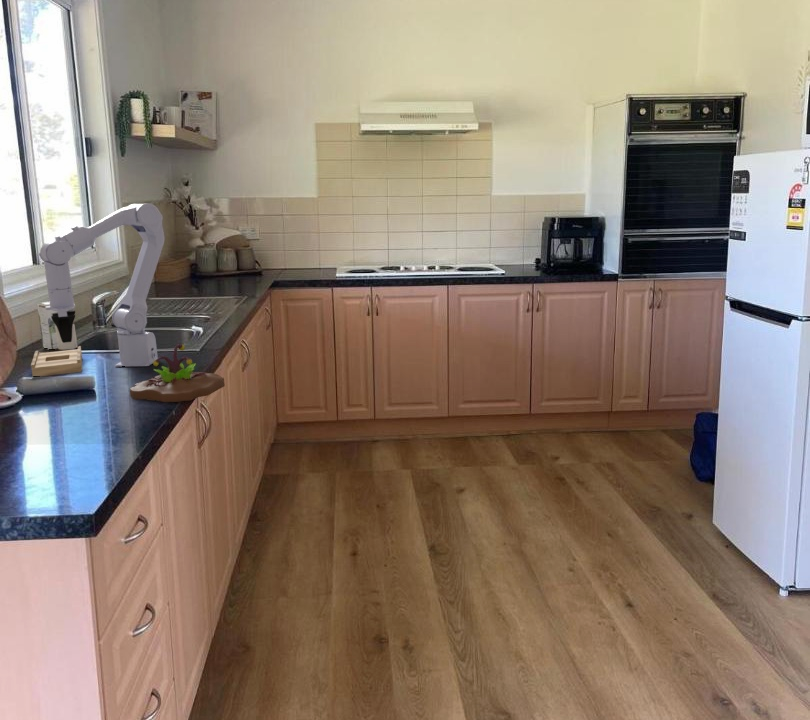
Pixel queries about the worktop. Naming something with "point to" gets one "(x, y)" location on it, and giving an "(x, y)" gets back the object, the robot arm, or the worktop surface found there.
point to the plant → (177, 382)
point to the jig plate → (57, 362)
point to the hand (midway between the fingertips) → (67, 340)
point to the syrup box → (47, 326)
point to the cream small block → (67, 344)
